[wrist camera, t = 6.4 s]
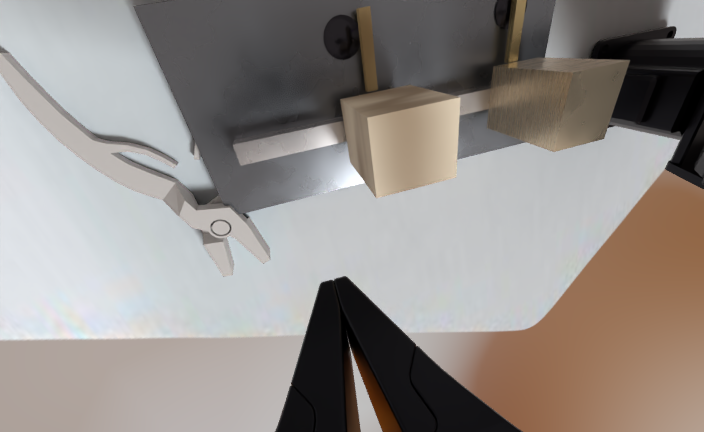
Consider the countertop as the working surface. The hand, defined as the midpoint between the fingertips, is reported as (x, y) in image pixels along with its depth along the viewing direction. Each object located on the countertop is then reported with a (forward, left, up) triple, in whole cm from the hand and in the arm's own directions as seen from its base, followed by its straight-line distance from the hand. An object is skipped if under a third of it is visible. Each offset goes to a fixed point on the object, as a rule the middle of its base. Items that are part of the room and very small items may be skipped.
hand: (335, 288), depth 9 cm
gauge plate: (-6, -4, -12) cm, 13 cm away
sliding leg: (-5, -4, -10) cm, 12 cm away
